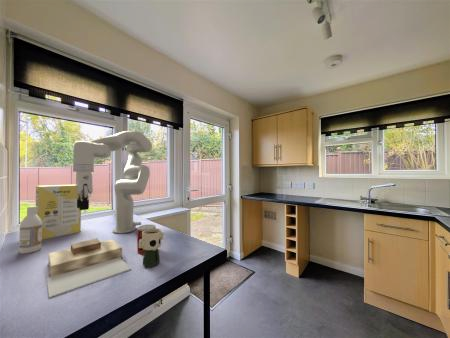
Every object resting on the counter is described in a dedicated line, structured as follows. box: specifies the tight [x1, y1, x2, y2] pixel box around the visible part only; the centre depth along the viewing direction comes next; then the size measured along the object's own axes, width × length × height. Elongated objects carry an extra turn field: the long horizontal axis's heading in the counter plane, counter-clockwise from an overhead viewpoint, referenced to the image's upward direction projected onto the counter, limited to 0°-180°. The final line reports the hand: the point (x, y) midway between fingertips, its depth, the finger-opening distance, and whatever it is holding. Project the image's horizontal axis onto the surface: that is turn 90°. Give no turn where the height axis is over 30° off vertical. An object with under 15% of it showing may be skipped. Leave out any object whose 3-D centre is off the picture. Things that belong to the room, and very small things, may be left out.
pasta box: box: [35, 183, 82, 240], centre depth 108 cm, size 18×10×28 cm, turn 142°
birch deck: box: [48, 238, 123, 277], centre depth 76 cm, size 22×14×4 cm, turn 136°
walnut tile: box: [70, 238, 102, 255], centre depth 77 cm, size 9×7×2 cm
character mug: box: [139, 228, 164, 268], centre depth 73 cm, size 11×7×13 cm, turn 149°
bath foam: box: [18, 205, 43, 255], centre depth 84 cm, size 7×7×20 cm
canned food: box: [136, 224, 157, 255], centre depth 85 cm, size 8×8×11 cm
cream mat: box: [46, 257, 132, 299], centre depth 65 cm, size 22×13×1 cm, turn 136°
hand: (82, 208), depth 84 cm, fingers open, 6 cm apart
